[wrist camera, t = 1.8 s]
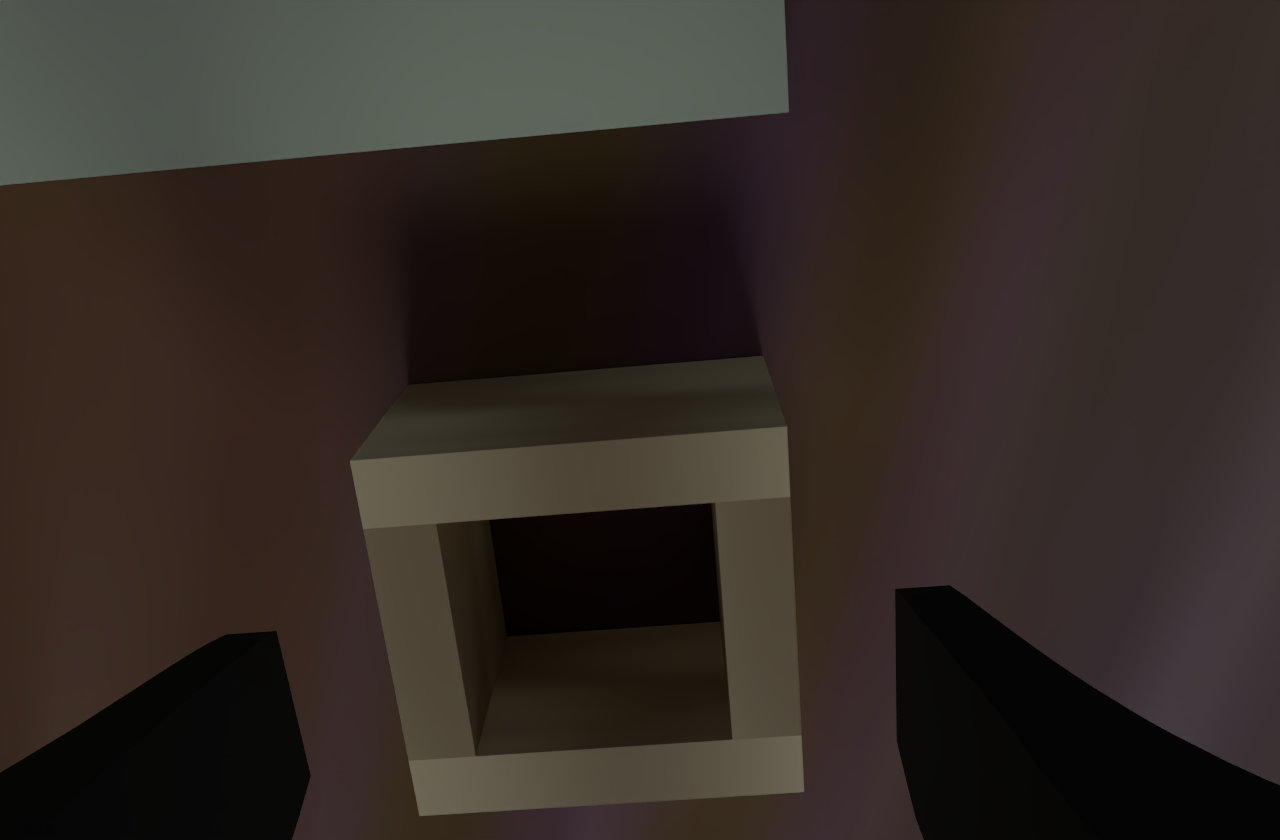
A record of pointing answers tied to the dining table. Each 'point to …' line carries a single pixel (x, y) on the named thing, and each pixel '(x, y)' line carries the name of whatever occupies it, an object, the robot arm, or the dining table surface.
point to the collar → (587, 660)
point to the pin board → (361, 75)
